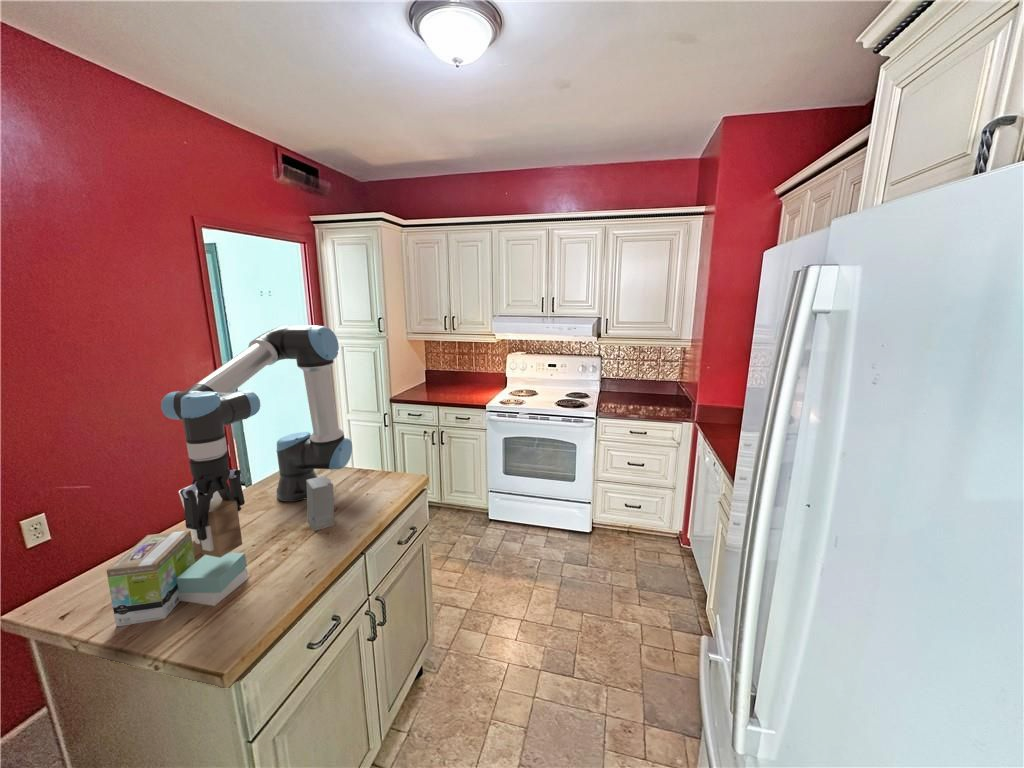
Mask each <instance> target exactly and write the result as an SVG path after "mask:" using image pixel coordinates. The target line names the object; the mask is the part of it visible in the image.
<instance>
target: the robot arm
mask: <svg viewBox="0 0 1024 768" xmlns="http://www.w3.org/2000/svg"><path fill="white" fill-rule="evenodd" d="M339 348H340V345H339V340H338V338H337V335H336V334H335V332H334V331H333V330H332V329H331V328H329V327H327V326H325V325H316V324H315V325H313V324H312V325H281V326H277V327H275V328H272V329H270V330H267V331H266V332H264V333H262V334H261V335H258V336H256V338H254V339H253V340H251V341H250V342H249V343H248V347H247V348H245V349H244V350H242V351H241V352H239V354H236V355H235V356H233V358H231V359H230V360H228V361H227V362H225V363H224V364H222V365H221V366H220V367H218V368H216V369H215V370H214V371H212V372H211V373H210V374H208V375H207V376H205V377H204V378H202V379H201V380H199V381H198V382H197V383H195V384H193V385H192V386H191V387H189V388H187V389H186V390H185V391H182V390H177V391H171V392H169V393H167V394H166V395H164V397H163V398H162V399H161V402H160V403H161V404H160V408H161V412H162V414H163V415H164V416H165V417H166V418H168V419H170V420H178V421H182V425H183V426H182V427H183V430H184V436H185V442H186V448H187V455H188V459H189V469H190V473H191V475H192V478H193V480H192V482H191V483H192V484H191V485H192V486H190V485H189V486H190V487H189V488H187V489H184V488H181V489H182V490H181V489H180V490H181V491H180V490H179V491H180V494H181V495H182V497H183V499H184V507H183V510H184V519H185V528H186V529H189V530H191V529H194V530H196V531H197V537H198V539H199V540H201V543H202V549H203V550H206V551H213V550H214V547H213V540H212V534H211V527H210V525H207V520H208V511H209V507H210V501H211V499H212V498H213V493H215V492H216V491H218V492H219V494H220V496H221V498H222V500H227V501H231V500H232V501H237V508H238V512H240V511H242V506H244V505H245V503H246V502H245V497H244V492H243V488H242V487H243V486H242V481H241V473H242V472H241V471H242V470H241V469H235V468H231V469H229V467H230V461H229V460H230V459H229V454H228V447H227V438H226V434H225V431H226V430H225V427H226V426H228V425H231V424H234V423H237V422H241V421H243V420H247V419H249V418H250V417H253V416H255V415H256V414H258V413H259V411H260V409H261V400H260V398H259V396H258V395H257V394H256V393H255V392H254V391H252V390H249V389H246V390H245V389H243V390H237V389H239V388H240V387H241V386H242V385H243V384H246V382H247V381H249V380H250V379H252V377H254V376H255V375H257V374H258V373H259V372H260V371H261V370H262V369H264V368H265V367H266V366H271V365H273V364H274V365H275V363H276V362H278V361H281V360H296V366H297V368H299V369H300V370H302V372H303V378H304V383H305V385H304V386H305V390H306V396H307V401H308V407H309V408H308V409H309V415H310V420H311V426H312V431H313V432H312V433H310V432H308V431H301V432H295V433H290V434H288V435H285V436H282V437H280V438H279V439H278V440H277V441H276V450H275V451H276V455H277V463H278V464H277V465H278V470H279V471H278V472H279V479H278V485H277V487H276V498H277V499H278V500H280V501H283V502H295V501H296V502H297V501H301V499H302V500H305V499H304V498H306V499H307V484H306V480H308V479H312V478H317V477H318V476H317V474H316V471H315V470H329V471H333V470H342V469H343V468H345V467H346V466H347V465H348V463H349V462H350V459H351V456H352V453H353V443H352V441H351V439H350V438H348V437H346V438H345V434H344V431H343V430H342V429H341V428H339V423H338V415H337V409H336V402H335V394H334V388H333V381H332V373H331V372H332V371H331V367H332V365H333V364H334V360H335V359H336V358H337V357H338V355H339ZM236 390H237V391H236ZM196 489H197V490H198V494H197V493H196ZM196 494H197V498H198V504H197V498H196V496H195V495H196ZM205 494H207V495H205Z"/></svg>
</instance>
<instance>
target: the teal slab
mask: <svg viewBox="0 0 1024 768" xmlns="http://www.w3.org/2000/svg"><path fill="white" fill-rule="evenodd" d="M247 565H248V564H247V558H246V553H245V552H229V553H227V554H226V555H224V556H222V557H221V558H219V557H214V556H209V555H205V554H203V556H202V557H200V558H199V559H198V560H197V561H195V563H194V564H193V565H192V566H191V567H190V568H188V569H187V570H186V571H185V572H183V573H182V574H181V575H180V576H179V577H177V578H176V579H177V584H178V590H179V593H221V592H222V591H223V590H224V589H225V588H226V587H227V586H228V585H229V584H230V583H231V582H232V581H233V580H234V579H235V578H236V577H237V576H238V575H239V574H240V573H241V572H242V571H243V570H244V569H245V568H247Z"/></svg>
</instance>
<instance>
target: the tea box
mask: <svg viewBox="0 0 1024 768" xmlns="http://www.w3.org/2000/svg"><path fill="white" fill-rule="evenodd" d="M194 550H195V549H194V545H193V535H192V532H191V530H183V531H182V530H181V531H173V532H164V533H155V534H147V535H145V537H144V538H142V539H141V540H140V541H139V542H137V544H135V545H134V546H133V547H132V548H131V549H129V551H127V552H125V554H123V555H122V556H121V557H120V558H119V559H118V560H116V561H115V562H114V563H113V564H112V565H111V566H109V567H108V568H107V569H106V575H107V582H108V587H109V594H110V600H111V607H112V610H113V616H114V622H115V627H116V628H117V626H118V627H123V626H128V625H134V624H141V623H146V622H152V621H153V622H154V621H158V620H165V619H166V618H167V617H168V615H169V614H170V613H172V611H173V609H174V608H175V607H176V606H177V605H178V603H179V602H181V601H180V596H179V590H178V584H177V579H176V578H177V577H179V576H180V575H181V574H182V573H183V572H185V571H186V570H187V569H188V568H190V567H191V566H192V565H193V564H194V563H196V559H195V555H194V554H195V553H194V552H195V551H194Z"/></svg>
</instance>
